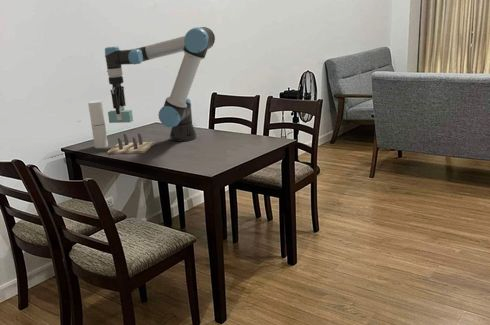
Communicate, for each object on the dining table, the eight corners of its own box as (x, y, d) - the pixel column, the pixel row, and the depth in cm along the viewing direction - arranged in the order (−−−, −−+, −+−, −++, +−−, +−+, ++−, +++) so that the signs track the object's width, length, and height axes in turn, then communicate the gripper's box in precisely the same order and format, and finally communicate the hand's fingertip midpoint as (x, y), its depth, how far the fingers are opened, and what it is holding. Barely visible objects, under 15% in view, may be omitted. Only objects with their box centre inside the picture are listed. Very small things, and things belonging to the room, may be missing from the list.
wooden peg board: (154, 143, 270) (152, 131, 268) (144, 152, 253) (142, 139, 251) (119, 144, 273) (117, 132, 271) (107, 153, 256) (105, 140, 253)
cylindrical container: (104, 148, 267) (97, 102, 260) (92, 148, 269) (85, 103, 262) (110, 144, 274) (104, 100, 267) (98, 144, 276) (92, 100, 268)
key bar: (133, 120, 271) (131, 110, 269) (130, 122, 267) (128, 111, 265) (112, 121, 273) (111, 110, 271) (109, 122, 268) (107, 112, 267)
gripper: (114, 74, 271) (120, 115, 278) (102, 78, 255) (108, 122, 261) (127, 73, 270) (133, 115, 277) (116, 78, 254) (122, 122, 260)
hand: (121, 118), depth 269 cm, fingers closed on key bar, 4 cm apart
